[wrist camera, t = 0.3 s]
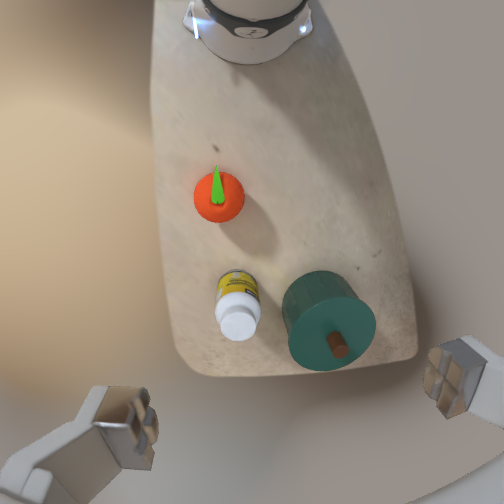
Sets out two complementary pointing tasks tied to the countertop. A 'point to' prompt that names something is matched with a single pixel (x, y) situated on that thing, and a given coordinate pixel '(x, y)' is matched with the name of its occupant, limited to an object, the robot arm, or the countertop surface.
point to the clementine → (219, 197)
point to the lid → (332, 333)
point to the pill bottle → (237, 305)
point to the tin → (312, 293)
